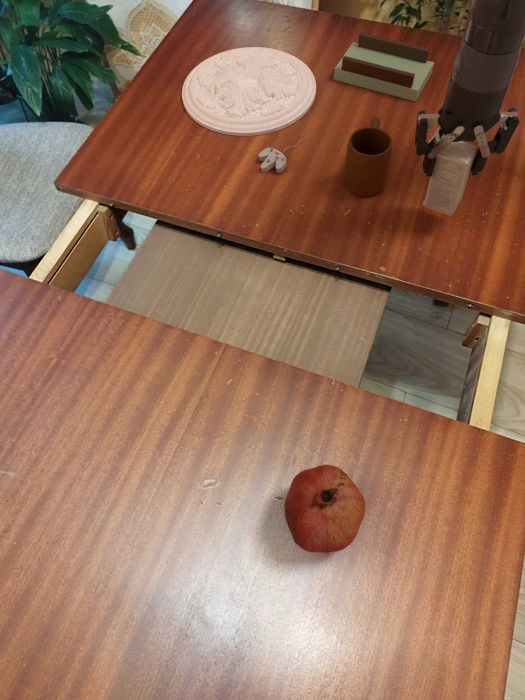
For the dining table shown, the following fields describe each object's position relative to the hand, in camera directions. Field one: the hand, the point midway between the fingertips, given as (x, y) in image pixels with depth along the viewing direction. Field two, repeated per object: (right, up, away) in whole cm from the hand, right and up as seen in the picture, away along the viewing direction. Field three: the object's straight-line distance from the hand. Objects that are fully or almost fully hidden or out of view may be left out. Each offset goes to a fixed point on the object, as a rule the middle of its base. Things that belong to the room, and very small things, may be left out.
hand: (450, 172), depth 85 cm
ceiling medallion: (-32, +27, +29) cm, 51 cm away
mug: (-10, +4, +16) cm, 19 cm away
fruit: (-22, -49, -14) cm, 56 cm away
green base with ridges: (-4, +30, +29) cm, 42 cm away
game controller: (-25, +9, +19) cm, 33 cm away
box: (0, -3, +6) cm, 7 cm away
